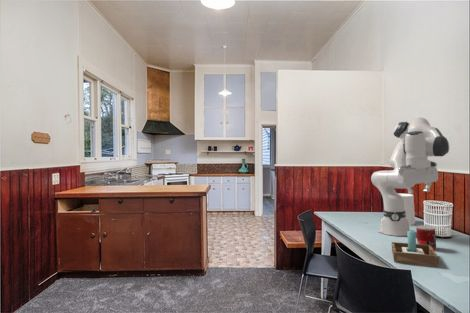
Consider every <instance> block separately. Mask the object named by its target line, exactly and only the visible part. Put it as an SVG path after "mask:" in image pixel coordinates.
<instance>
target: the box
mask: <svg viewBox="0 0 470 313" xmlns="http://www.w3.org/2000/svg"><path fill="white" fill-rule="evenodd" d="M402 247H408V242H397V241H391V253H392V259H393V261H394V263H399V264H408V265H409V264H410V265H418V266H425V267H427V266H428V267H435V268H439V256H438V254H437V253H436V250H433V248H432V247H431V245H423V244H417V243H416V248H419V249H422V250H423V252H424V254H416V253H406V252H402Z"/></svg>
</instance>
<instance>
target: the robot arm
mask: <svg viewBox="0 0 470 313" xmlns="http://www.w3.org/2000/svg"><path fill="white" fill-rule="evenodd" d="M393 136H394V137H396V138H398V139H401V140H400V141H399V142H397V145H396V146H395V147H394V149H393V151H392V154H391V157H390V158H389V161H388V163H389V165H390V166H391V168H392V169H393V170H378V171H374V172H373V173H372V174H371V177H370V180H371V183H372V185H373V186H375V187H376V188H377V189H378V191H379V192H380V195H381V196H382V202H383V211H382V213H383V217H382V218H381V219H380V228H379V229H378V231H377V232H378V233H381V234H385V235H388V236H395V237H407V231H411V228H410V226H411V225H409V220H408V219H406V212H405V210H404V199H403V197H402V196H401V195H399V194H397V193H398V192H397V191H396V189H399V190H402V189H403V190H407V194H412V195H414V189H412V188H414V186H415V185H418V184H425V187H424V188H423V192H425V193H429V192H430V191H431V190H430V188H431V186H432V183H436V182H438V181H439V180H438V179H439V172H438V168H437V166H438V163H437V162H436V161H432V160H429V159H428V157H444V156H446V155H447V154H448V153H449V151H450V142H449V141H448V138H447V137H445V136H444V135H443V134H442V132H441V131H440V130H439V128H437V127H433V126H431V124H430V122H429V121H428V120H427V119H426V118H424V117H417V118H414V119H413V120H411V121H410V123H409V122H408V121H401V122H398V124H396V125H395V126H394V127H393Z"/></svg>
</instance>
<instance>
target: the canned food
mask: <svg viewBox="0 0 470 313" xmlns="http://www.w3.org/2000/svg"><path fill="white" fill-rule="evenodd" d="M436 237H437V234H436V227H434V226H431V225H425V224H424V225H422V224H421V225H416V244H423V245H431V247H432V248H433V250H434V251H437V238H436Z"/></svg>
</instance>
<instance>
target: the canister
mask: <svg viewBox="0 0 470 313" xmlns="http://www.w3.org/2000/svg"><path fill="white" fill-rule="evenodd" d="M396 193H397V194H399V195H401V196H402V197H403V199H404V210H405V212H406V219H408V220H409V226H414V225H415V224H416V218H415V217H416V216H415V215H416V214H415V199H414V198H415V196H414V194H409V193H401V192H400V193H399V192H396Z"/></svg>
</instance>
